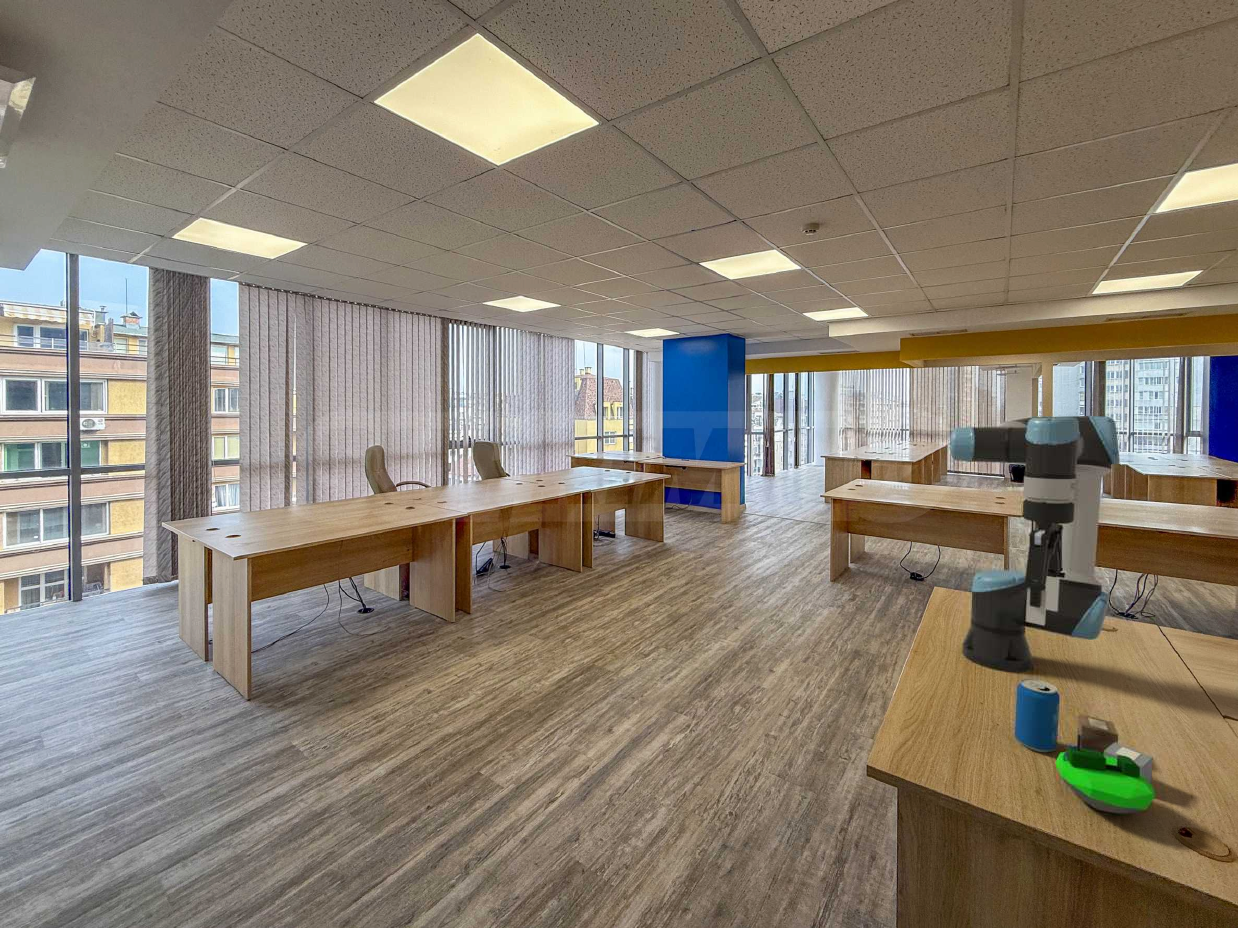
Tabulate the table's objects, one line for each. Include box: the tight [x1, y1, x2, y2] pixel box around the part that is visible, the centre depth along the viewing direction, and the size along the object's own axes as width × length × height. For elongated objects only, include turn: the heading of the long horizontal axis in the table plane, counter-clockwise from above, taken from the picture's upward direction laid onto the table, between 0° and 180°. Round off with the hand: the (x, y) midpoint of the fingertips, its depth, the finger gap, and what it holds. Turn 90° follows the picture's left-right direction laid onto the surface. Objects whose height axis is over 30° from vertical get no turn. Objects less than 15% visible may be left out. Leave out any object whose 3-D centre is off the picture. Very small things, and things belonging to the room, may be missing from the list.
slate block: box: [1103, 742, 1154, 785], centre depth 92 cm, size 5×5×5 cm
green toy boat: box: [1055, 734, 1156, 815], centre depth 87 cm, size 12×12×11 cm
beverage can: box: [1014, 677, 1061, 753], centre depth 103 cm, size 6×6×12 cm
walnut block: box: [1076, 714, 1119, 755], centre depth 101 cm, size 5×5×5 cm
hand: (1042, 615), depth 101 cm, fingers open, 10 cm apart
